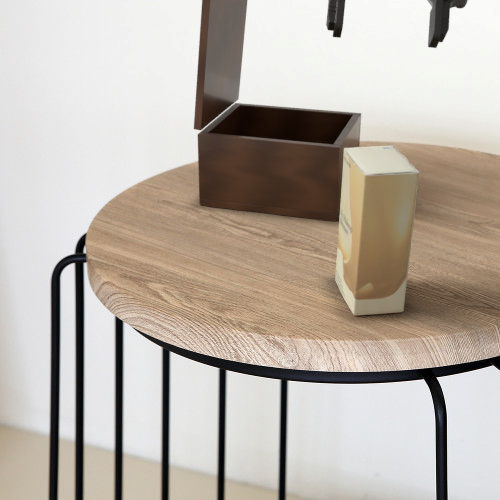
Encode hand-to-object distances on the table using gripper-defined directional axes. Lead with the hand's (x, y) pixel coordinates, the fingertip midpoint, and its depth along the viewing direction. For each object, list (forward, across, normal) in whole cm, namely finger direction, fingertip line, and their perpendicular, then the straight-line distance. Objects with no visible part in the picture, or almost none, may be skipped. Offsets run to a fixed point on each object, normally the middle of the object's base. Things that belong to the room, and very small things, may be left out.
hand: (386, 38), depth 70 cm
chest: (+8, -8, +20) cm, 23 cm away
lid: (-4, -15, +11) cm, 19 cm away
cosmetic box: (+23, 0, +2) cm, 23 cm away
